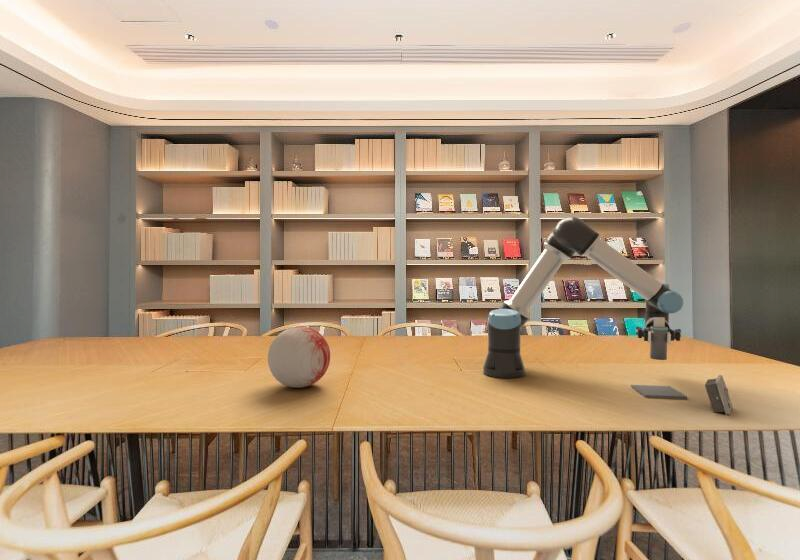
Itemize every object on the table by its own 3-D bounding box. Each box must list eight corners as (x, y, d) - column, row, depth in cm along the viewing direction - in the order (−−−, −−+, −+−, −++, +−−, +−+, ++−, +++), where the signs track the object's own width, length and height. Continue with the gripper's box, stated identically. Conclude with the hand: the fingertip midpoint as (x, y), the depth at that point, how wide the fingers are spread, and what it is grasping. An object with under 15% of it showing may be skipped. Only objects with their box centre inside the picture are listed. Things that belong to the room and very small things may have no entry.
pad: (644, 397, 144) (645, 394, 144) (630, 387, 156) (631, 384, 156) (687, 399, 142) (687, 396, 142) (669, 388, 154) (669, 386, 154)
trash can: (649, 359, 147) (650, 317, 147) (649, 356, 152) (650, 316, 151) (667, 360, 145) (668, 318, 145) (666, 357, 150) (667, 317, 149)
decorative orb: (301, 376, 170) (301, 321, 170) (342, 384, 159) (342, 325, 158) (253, 389, 153) (252, 328, 152) (295, 399, 142) (295, 333, 141)
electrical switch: (729, 416, 127) (726, 381, 127) (707, 414, 130) (704, 380, 130) (732, 407, 134) (729, 375, 134) (710, 406, 137) (707, 374, 137)
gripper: (686, 341, 160) (692, 353, 140) (629, 338, 168) (627, 348, 148) (687, 319, 160) (693, 328, 139) (629, 317, 168) (627, 324, 147)
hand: (659, 338), depth 144 cm, fingers closed on trash can, 4 cm apart
